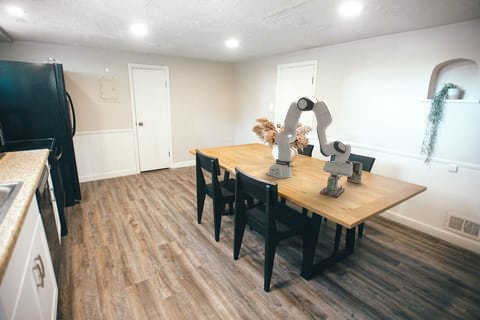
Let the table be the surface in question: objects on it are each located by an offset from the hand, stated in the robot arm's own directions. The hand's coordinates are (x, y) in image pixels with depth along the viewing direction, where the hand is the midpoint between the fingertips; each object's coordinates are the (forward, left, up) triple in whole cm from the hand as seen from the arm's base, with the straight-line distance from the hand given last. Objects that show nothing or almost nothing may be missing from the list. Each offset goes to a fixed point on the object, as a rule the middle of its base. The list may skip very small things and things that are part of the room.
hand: (334, 178), depth 177 cm
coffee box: (+6, +34, -10) cm, 36 cm away
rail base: (0, -2, -10) cm, 10 cm away
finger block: (0, 0, -7) cm, 7 cm away
